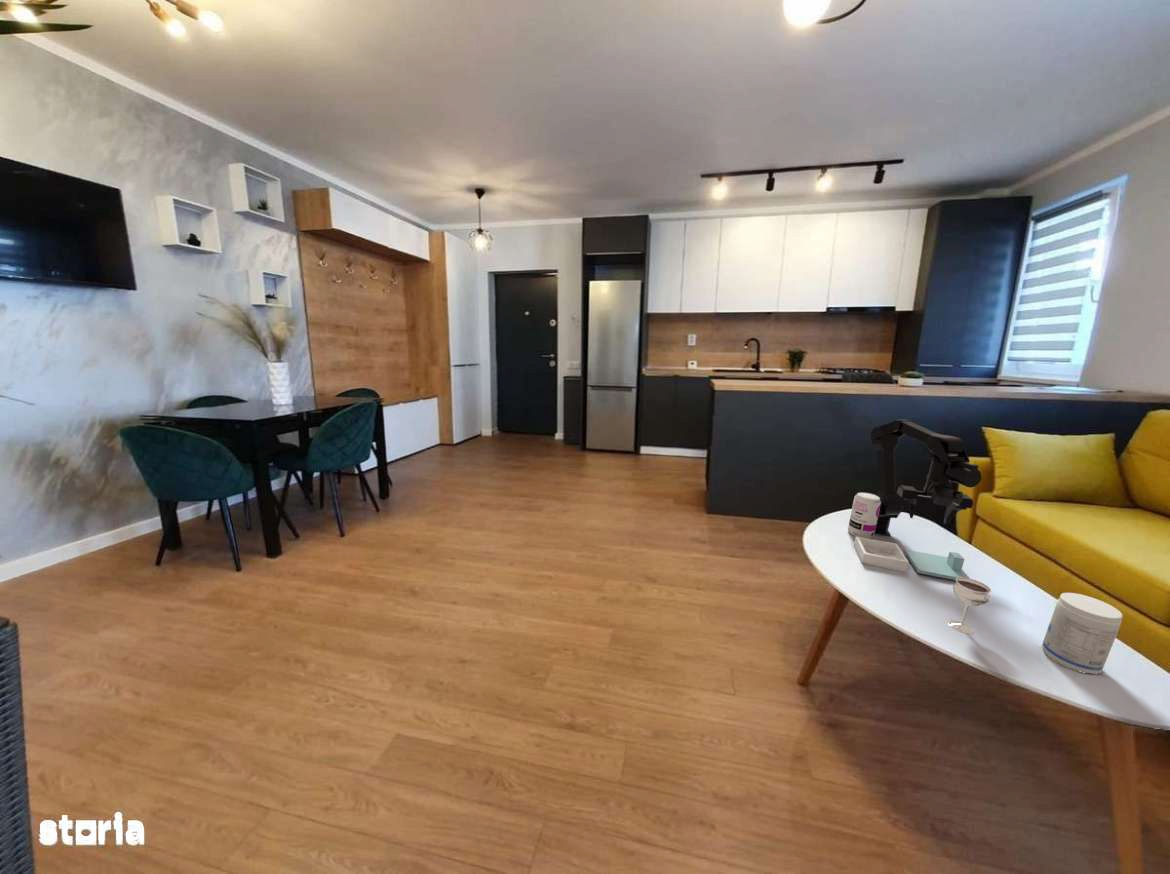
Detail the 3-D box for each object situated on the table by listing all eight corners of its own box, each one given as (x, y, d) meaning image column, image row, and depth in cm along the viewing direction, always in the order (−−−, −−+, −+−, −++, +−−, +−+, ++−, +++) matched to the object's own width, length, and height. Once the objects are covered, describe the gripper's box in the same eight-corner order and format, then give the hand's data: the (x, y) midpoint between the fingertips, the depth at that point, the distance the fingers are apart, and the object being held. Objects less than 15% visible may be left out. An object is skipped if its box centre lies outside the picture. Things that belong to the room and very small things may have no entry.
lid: (903, 554, 146) (907, 538, 144) (951, 562, 141) (955, 546, 140) (917, 575, 133) (921, 558, 132) (970, 585, 129) (975, 567, 127)
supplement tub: (1043, 639, 106) (1061, 586, 103) (1102, 663, 99) (1124, 606, 96) (1038, 657, 100) (1057, 601, 97) (1100, 683, 93) (1124, 624, 90)
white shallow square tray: (853, 545, 151) (855, 536, 150) (894, 553, 146) (896, 543, 146) (861, 563, 139) (864, 553, 138) (906, 572, 135) (908, 562, 134)
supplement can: (873, 533, 161) (881, 495, 157) (873, 541, 154) (881, 502, 150) (848, 527, 165) (855, 490, 161) (846, 535, 158) (854, 496, 155)
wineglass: (937, 617, 113) (948, 576, 110) (963, 618, 113) (975, 577, 110) (957, 635, 107) (970, 592, 104) (986, 636, 106) (999, 593, 104)
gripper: (913, 478, 134) (901, 525, 138) (988, 489, 128) (974, 537, 132) (902, 468, 144) (891, 511, 148) (971, 477, 138) (958, 522, 142)
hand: (927, 520), depth 142 cm, fingers open, 9 cm apart
